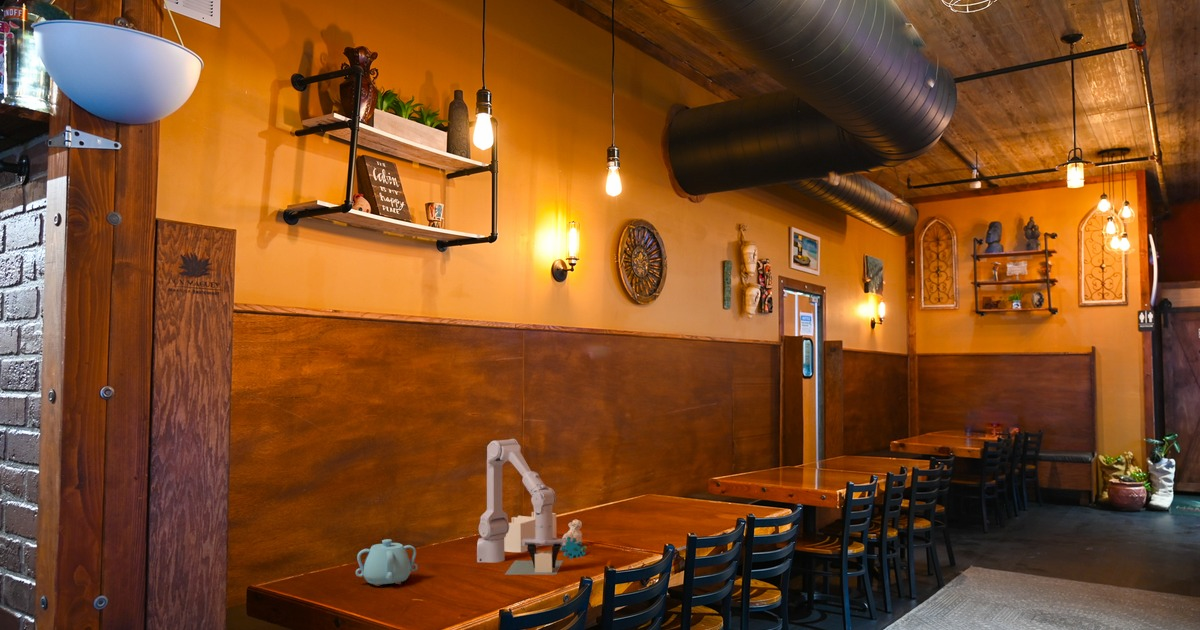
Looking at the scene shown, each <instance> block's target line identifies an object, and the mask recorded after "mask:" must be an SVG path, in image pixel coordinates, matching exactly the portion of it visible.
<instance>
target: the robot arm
mask: <svg viewBox="0 0 1200 630" xmlns="http://www.w3.org/2000/svg"><path fill="white" fill-rule="evenodd" d="M486 448H487V449H486V451H487V452H486V456H487V457H486V510H485V512H484V513H482V514H481V516H480V521H479V525H478V533H479V535H480V536H481V537H479V538H478V540H477V543H476V544H477V545H476V562H477V563H490V564H491V563H493V564H494V563H501V562H504V561H505V560H506V559H505V554H506V553H505V549H504V537H506V534H507V533H508V531H509V523H510V522H509V521H508V514H507V512H505V511H504V510H503V465H504V464H505V463H506V462H510V463H511V464H512V466H514V468H515V469H516V470H517V472H519V474H520V475H521V476H522V480H521V481H522V484H523V485H524V487H525V489H526V490H527V491H528V493H529V494H530V495H531V498H530V501H531V504H532V506H533V512H535V535H536V538H530V539H523V540H522V546H525V545H528V547H527V549H528V551H527V552H528V553H529V555H530V558H531V561H533V566H534V568H535V553H536V552H537V548H538V546H537V545H543V546H552V547H551V551H552V554H553V562H552V567H553V568H555V564H556V561H557V560H558V559H557V557H558V554H559V552H560V550H561V547H562V546H561V545H563V546H565V545H566V539H562V538H563V537H562V538H561V537H559V538H558V537H556V538H553V521H552V513H553V505H555V504H556V500H557V495H556V493H555V491H554V489H553V488H551V487H549V486H548V485H546V484H545V483H544V481H543V480H542V478H541V477H540V474H539V473H538V472H536V471H532V470H531V469H530V468H531V467H529V465H528V463H527V462H526V459H525V458H524V456H523V453H521V449H522V446H521V445H520V444H519V442H518V441H517V440H516V439H515V438H510V439H500V440H492V441H490V443H489V444H488V445H487V447H486ZM536 547H537V548H536Z"/></svg>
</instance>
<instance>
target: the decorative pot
mask: <svg viewBox="0 0 1200 630" xmlns="http://www.w3.org/2000/svg"><path fill="white" fill-rule="evenodd" d="M381 542H382V543H377V544H372V545H371V547H370V548H364V549H362V550H360V551H359V552H358V553H357V555H356V556H357V557H356V559H357V562H358V566H359V568H357V569H356V570H355V575H356V577H360V578H362V577H363V578H364V580H365V581H366V582H367V583H369V584H371V585H373V586H374V585H382V586H383V585H387V584H394V583H401V582H402V583H403V582H405V581H406V580H407V579H408V578H409V576H410V575H411V573H414V572H416V571H417V570H418V566H419V565H418V564H417V563H414V562H415V559H416V556H417V550H416V548H415V547H414V546H413V545H410V544H407V545H403V544H402V543H399V542H393V539H391V538H388V539H387V538H386V539H383V540H381ZM407 549H411V550H412V556H411V559H410V558H409V555H408V552H407ZM364 553H367V555H366V557H365V559H364V562H362V557H361V555H362V554H364ZM413 566H414V567H413ZM360 571H361V572H360ZM359 572H360V573H359Z"/></svg>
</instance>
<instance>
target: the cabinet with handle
mask: <svg viewBox="0 0 1200 630" xmlns="http://www.w3.org/2000/svg"><path fill="white" fill-rule="evenodd" d="M552 562H553V554H552V550H536V553H535V573H552V571H553V570H554V568H553V567H552Z"/></svg>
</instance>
